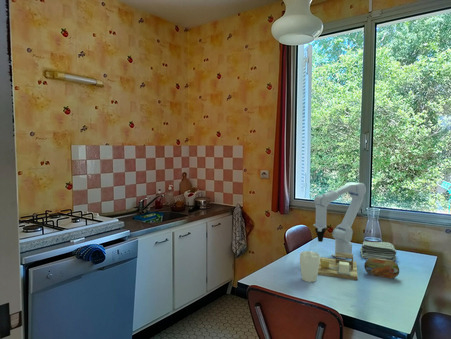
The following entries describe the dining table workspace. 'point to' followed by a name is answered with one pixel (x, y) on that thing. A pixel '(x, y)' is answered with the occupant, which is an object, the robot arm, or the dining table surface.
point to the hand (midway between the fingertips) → (320, 241)
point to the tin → (381, 268)
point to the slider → (326, 265)
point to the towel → (378, 250)
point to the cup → (309, 265)
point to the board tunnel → (336, 263)
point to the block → (343, 267)
